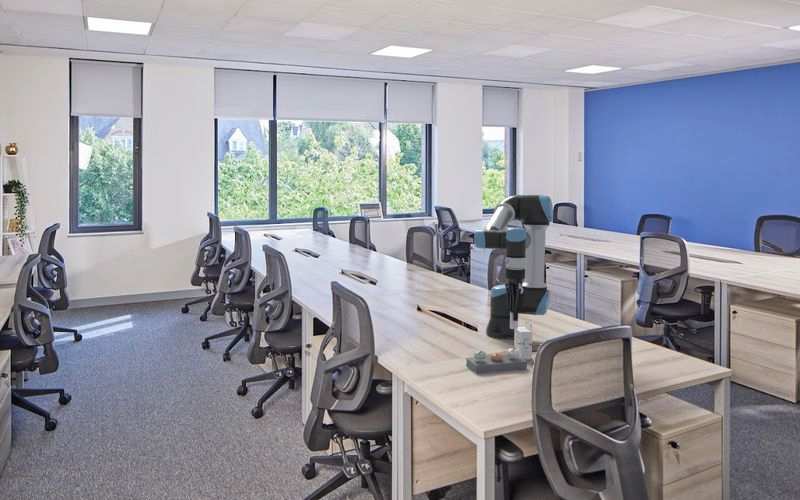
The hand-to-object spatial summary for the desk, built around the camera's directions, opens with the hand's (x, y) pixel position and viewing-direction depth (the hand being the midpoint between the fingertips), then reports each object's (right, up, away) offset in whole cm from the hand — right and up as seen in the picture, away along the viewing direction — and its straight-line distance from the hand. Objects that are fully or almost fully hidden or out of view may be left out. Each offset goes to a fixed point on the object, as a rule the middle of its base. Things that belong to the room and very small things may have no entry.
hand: (513, 328), depth 245 cm
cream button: (0, -11, +2) cm, 11 cm away
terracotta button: (-7, -12, 0) cm, 14 cm away
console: (-7, -15, 0) cm, 17 cm away
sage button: (-13, -11, -2) cm, 18 cm away
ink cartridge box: (+6, -14, +14) cm, 21 cm away
